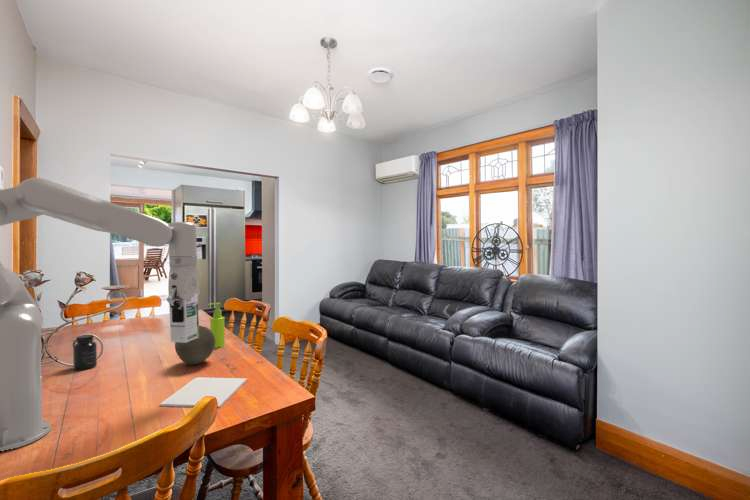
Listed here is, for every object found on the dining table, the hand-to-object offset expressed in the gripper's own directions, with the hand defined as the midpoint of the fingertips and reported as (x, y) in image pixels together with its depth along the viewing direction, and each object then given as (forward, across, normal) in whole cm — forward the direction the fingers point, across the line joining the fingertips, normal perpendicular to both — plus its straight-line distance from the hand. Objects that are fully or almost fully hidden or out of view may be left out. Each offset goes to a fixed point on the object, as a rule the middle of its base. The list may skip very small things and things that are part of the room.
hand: (184, 318), depth 109 cm
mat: (+24, +2, -5) cm, 25 cm away
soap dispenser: (+25, +50, +14) cm, 57 cm away
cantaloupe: (+25, +27, +11) cm, 38 cm away
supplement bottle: (+24, +21, +50) cm, 60 cm away
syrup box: (+7, 0, 0) cm, 7 cm away
